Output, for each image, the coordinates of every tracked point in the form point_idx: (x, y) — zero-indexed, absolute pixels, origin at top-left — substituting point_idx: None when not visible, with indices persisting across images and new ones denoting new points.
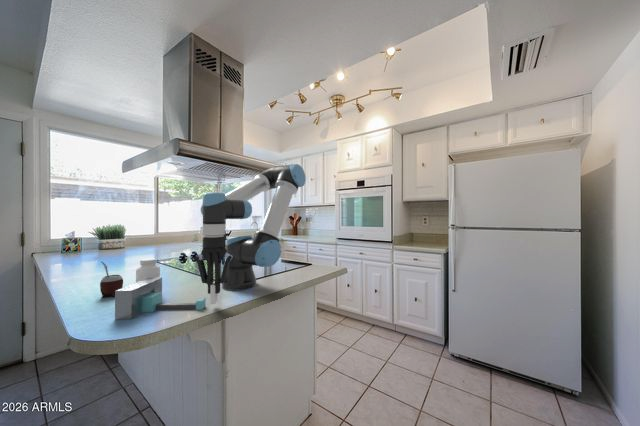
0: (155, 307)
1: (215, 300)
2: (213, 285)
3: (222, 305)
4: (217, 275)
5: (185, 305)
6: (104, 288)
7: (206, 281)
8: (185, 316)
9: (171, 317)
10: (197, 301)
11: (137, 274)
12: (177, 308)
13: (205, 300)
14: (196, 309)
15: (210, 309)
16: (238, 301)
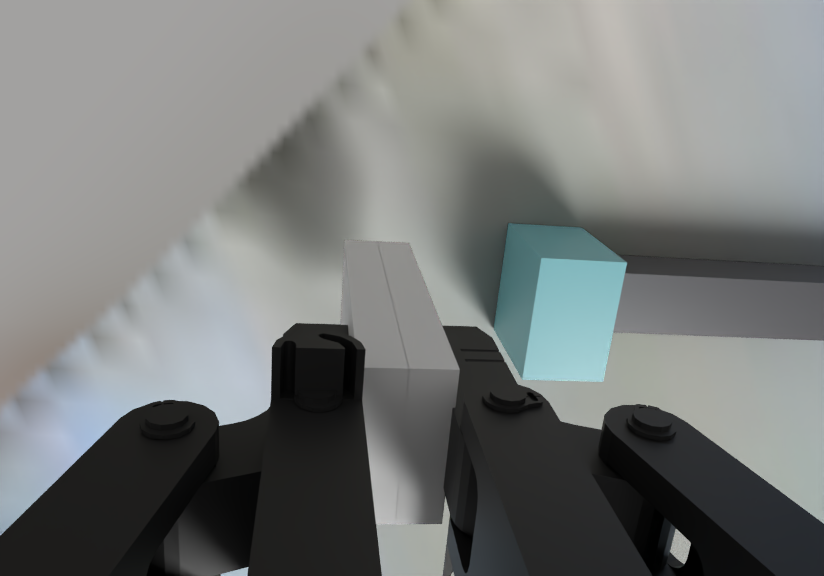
0: None
1: (344, 282)
2: (387, 364)
3: None
4: (285, 535)
5: (739, 277)
6: None
7: (587, 454)
8: (655, 17)
9: (816, 11)
10: (604, 258)
11: None
12: (810, 268)
13: (513, 360)
14: (577, 228)
15: (399, 222)
16: None
